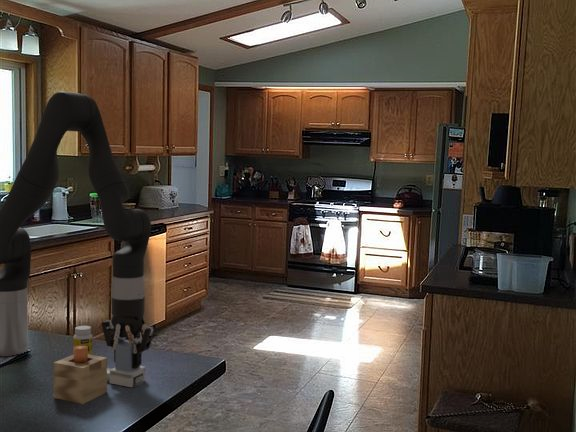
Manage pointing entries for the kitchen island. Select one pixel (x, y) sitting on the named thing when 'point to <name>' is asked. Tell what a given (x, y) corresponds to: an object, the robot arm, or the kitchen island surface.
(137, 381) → the rail
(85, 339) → the supplement bottle
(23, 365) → the kitchen island surface
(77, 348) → the brown egg
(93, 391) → the open wooden box
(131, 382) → the carriage
